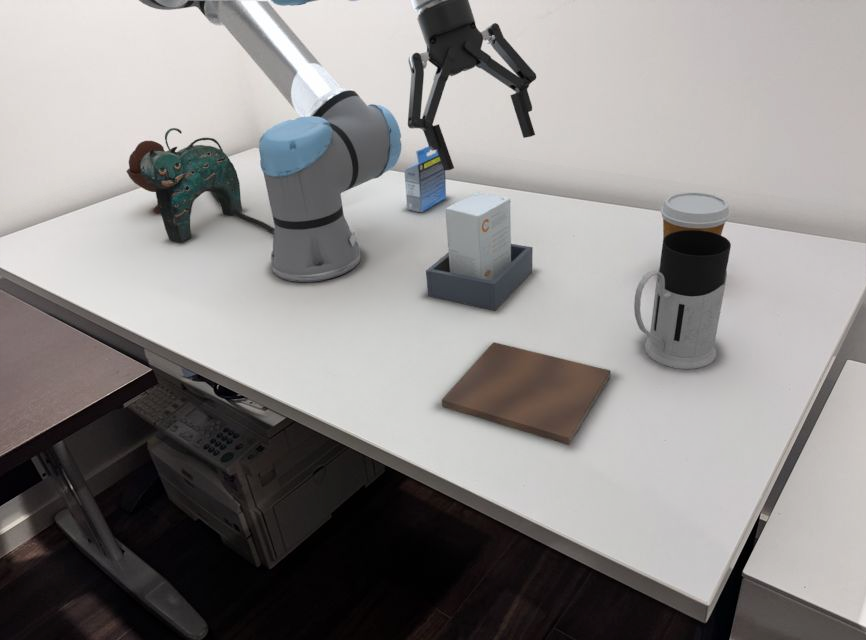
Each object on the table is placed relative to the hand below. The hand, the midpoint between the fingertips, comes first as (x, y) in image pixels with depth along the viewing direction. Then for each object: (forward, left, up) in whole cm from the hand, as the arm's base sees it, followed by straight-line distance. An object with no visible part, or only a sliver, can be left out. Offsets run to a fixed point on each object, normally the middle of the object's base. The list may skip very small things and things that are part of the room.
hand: (489, 153), depth 100 cm
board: (+19, -29, -19) cm, 39 cm away
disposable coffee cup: (+29, +8, -19) cm, 36 cm away
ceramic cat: (-62, -5, -19) cm, 65 cm away
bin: (+1, -6, -19) cm, 20 cm away
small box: (+1, -6, -19) cm, 20 cm away
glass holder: (+32, -15, -19) cm, 40 cm away
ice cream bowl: (-78, -1, -19) cm, 80 cm away
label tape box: (-25, +21, -19) cm, 38 cm away
